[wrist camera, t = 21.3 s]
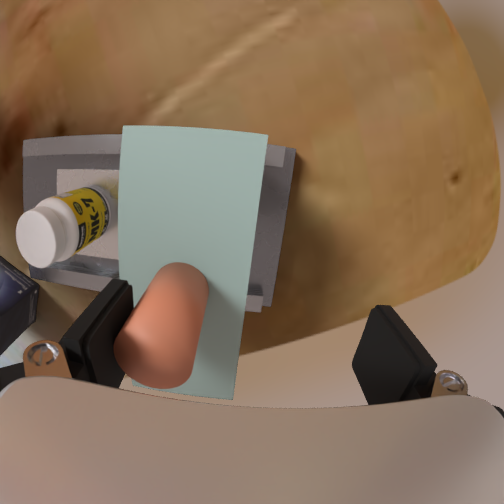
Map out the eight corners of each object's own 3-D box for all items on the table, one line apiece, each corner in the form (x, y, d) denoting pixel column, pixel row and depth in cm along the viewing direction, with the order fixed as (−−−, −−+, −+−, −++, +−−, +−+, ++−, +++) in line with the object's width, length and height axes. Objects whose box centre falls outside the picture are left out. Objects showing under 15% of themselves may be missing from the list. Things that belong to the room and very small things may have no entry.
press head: (167, 303, 25) (108, 450, 10) (176, 135, 20) (54, 117, 6) (236, 311, 25) (230, 471, 11) (257, 142, 20) (286, 123, 6)
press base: (37, 266, 26) (24, 276, 24) (32, 139, 22) (16, 140, 19) (269, 298, 28) (272, 313, 26) (292, 148, 24) (298, 148, 21)
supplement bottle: (116, 235, 24) (68, 273, 16) (74, 240, 24) (21, 276, 16) (108, 181, 22) (52, 199, 14) (65, 190, 22) (5, 210, 14)
